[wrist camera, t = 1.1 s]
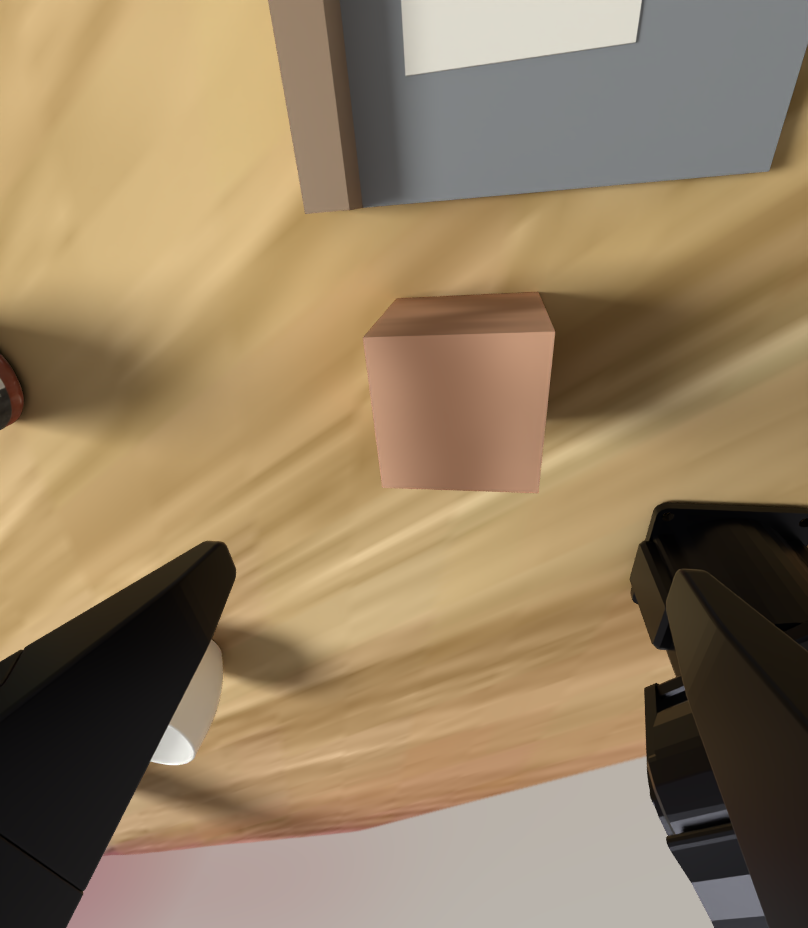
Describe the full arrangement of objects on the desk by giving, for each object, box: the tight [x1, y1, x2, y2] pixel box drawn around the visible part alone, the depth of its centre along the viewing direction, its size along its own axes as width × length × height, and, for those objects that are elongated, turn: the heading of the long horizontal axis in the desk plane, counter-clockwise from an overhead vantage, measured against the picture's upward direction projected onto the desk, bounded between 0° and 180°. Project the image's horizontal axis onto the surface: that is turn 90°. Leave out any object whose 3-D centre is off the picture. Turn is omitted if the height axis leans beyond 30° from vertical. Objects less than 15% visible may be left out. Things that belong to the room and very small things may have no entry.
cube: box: [363, 292, 555, 493], centre depth 16 cm, size 6×6×6 cm
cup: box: [151, 640, 223, 765], centre depth 31 cm, size 8×10×7 cm
